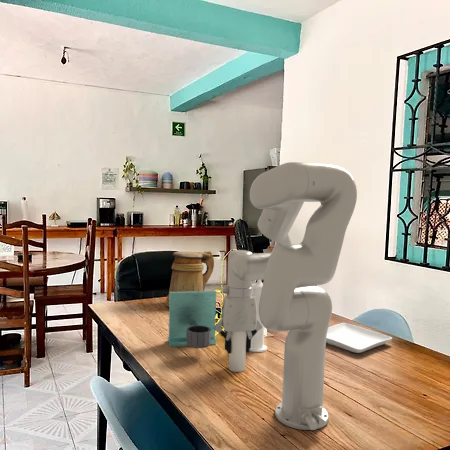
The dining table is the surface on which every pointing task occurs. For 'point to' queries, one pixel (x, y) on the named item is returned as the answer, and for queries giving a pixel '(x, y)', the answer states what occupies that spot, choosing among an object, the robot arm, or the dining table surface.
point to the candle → (258, 338)
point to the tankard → (190, 271)
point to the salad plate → (354, 337)
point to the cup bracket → (192, 319)
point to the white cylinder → (237, 351)
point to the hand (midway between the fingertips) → (237, 350)
